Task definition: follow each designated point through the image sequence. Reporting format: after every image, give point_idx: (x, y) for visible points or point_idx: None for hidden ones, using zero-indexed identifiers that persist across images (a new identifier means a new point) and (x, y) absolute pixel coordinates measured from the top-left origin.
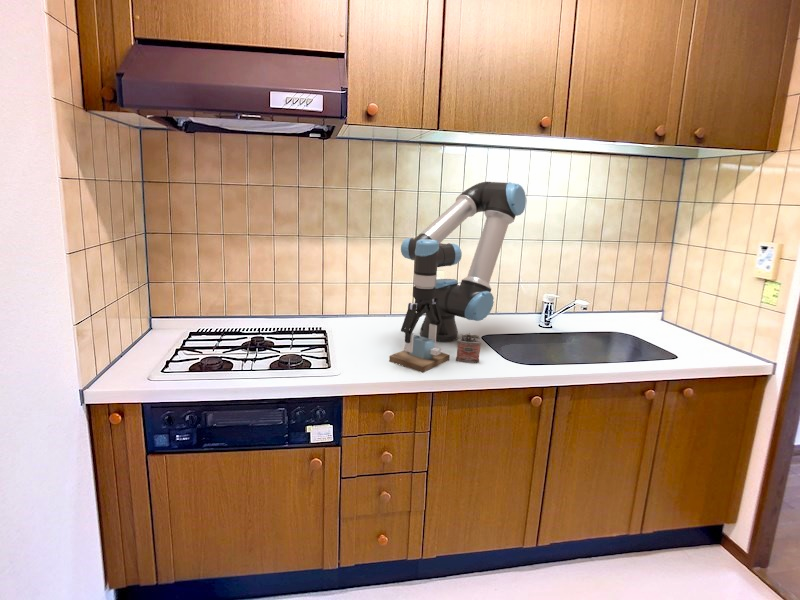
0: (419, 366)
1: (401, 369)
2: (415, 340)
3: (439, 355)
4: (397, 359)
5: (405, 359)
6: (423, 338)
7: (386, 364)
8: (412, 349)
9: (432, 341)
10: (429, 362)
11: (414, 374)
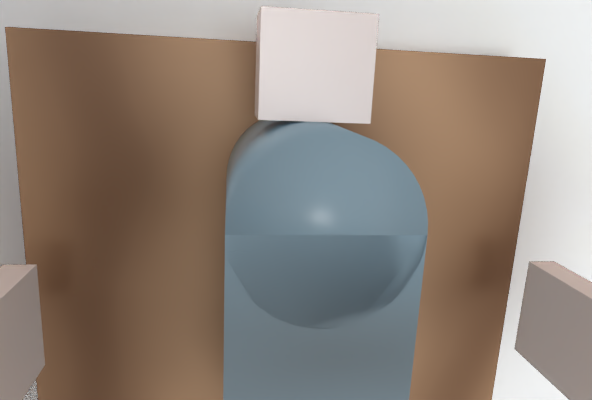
0: (533, 101)
1: (549, 235)
2: (404, 394)
3: (131, 111)
4: (492, 350)
5: (480, 292)
6: (284, 356)
7: (528, 375)
8: (558, 274)
9: (310, 163)
10: (400, 74)
11: (583, 92)
